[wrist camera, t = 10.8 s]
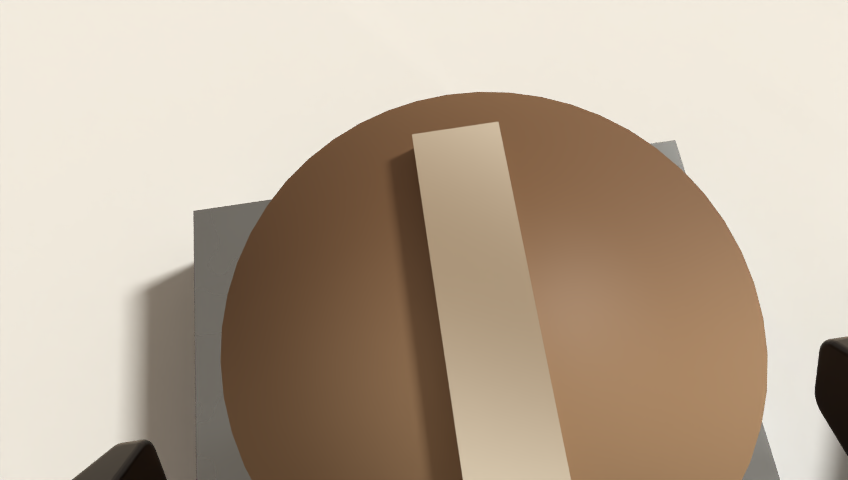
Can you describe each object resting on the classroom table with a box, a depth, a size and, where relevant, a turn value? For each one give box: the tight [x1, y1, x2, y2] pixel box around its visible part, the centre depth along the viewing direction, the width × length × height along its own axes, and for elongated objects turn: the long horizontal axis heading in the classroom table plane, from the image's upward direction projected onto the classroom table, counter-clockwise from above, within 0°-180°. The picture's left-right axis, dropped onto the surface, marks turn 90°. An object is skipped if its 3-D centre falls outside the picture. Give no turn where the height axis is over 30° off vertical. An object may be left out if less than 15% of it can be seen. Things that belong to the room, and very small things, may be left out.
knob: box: [221, 92, 767, 480], centre depth 12 cm, size 5×5×13 cm
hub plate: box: [194, 140, 780, 480], centre depth 18 cm, size 14×14×3 cm
